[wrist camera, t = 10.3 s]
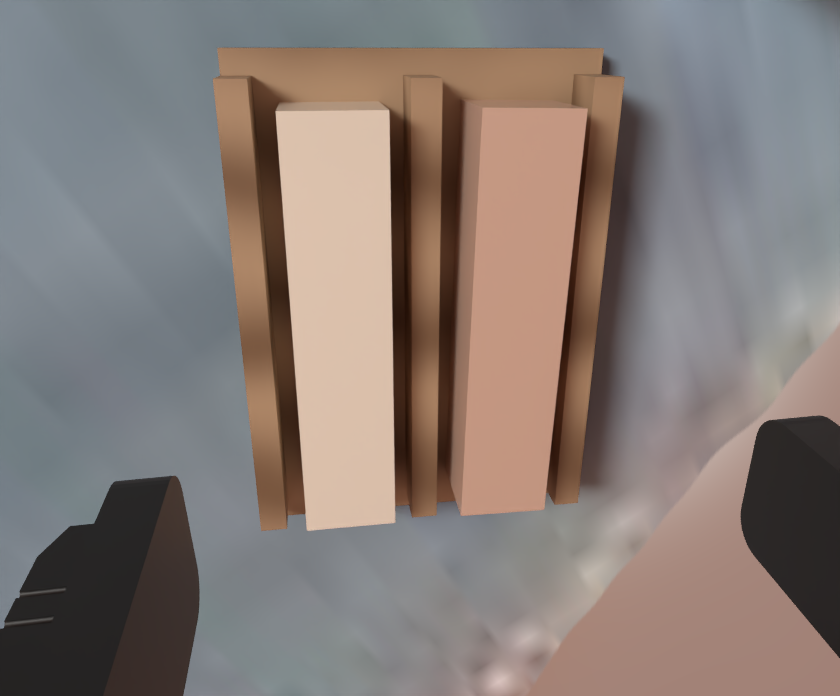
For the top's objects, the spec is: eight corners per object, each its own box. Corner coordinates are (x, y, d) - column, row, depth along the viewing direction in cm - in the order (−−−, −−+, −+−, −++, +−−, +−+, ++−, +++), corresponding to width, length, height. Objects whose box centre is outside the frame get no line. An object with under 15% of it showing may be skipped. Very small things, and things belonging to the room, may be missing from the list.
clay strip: (460, 99, 29) (482, 107, 26) (553, 100, 30) (587, 108, 26) (445, 468, 36) (461, 515, 33) (520, 463, 37) (544, 509, 33)
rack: (220, 47, 28) (209, 48, 25) (593, 48, 30) (627, 48, 27) (267, 503, 37) (263, 547, 34) (553, 479, 39) (575, 519, 36)
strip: (279, 102, 28) (275, 111, 25) (379, 101, 29) (389, 109, 25) (306, 480, 35) (307, 530, 32) (386, 474, 36) (395, 522, 32)
